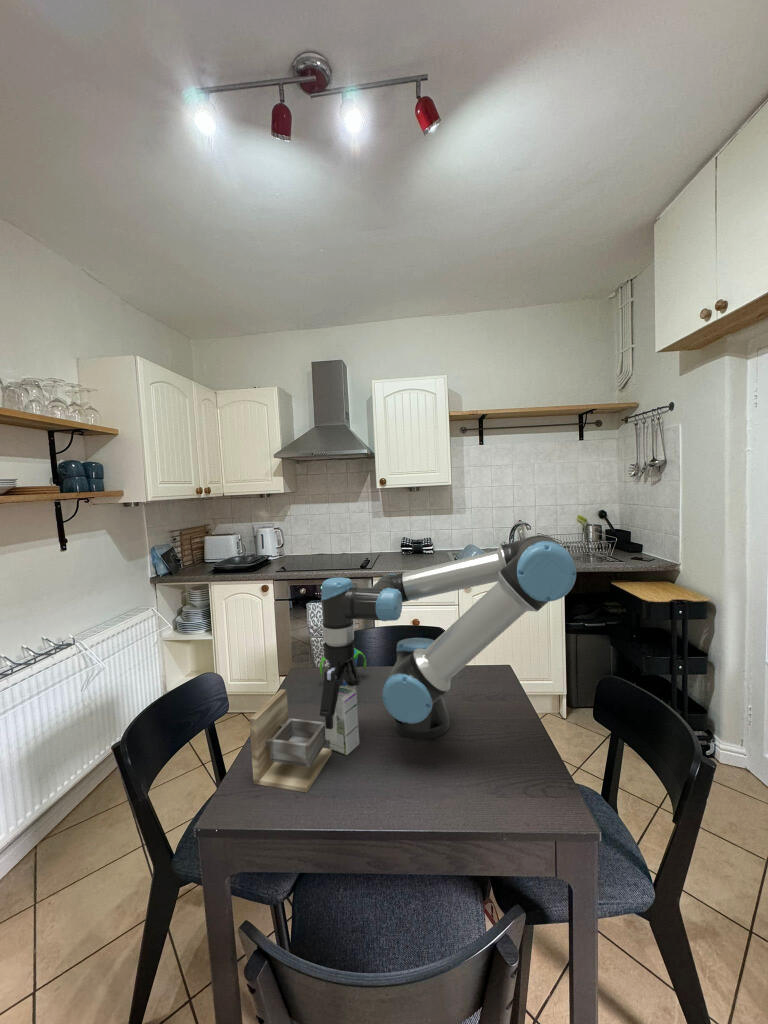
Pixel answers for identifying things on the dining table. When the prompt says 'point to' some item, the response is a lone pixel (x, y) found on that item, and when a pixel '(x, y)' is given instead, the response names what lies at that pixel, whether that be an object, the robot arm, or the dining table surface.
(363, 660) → the snack cup
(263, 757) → the wooden caddy with bin
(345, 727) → the syrup box
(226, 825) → the dining table surface
